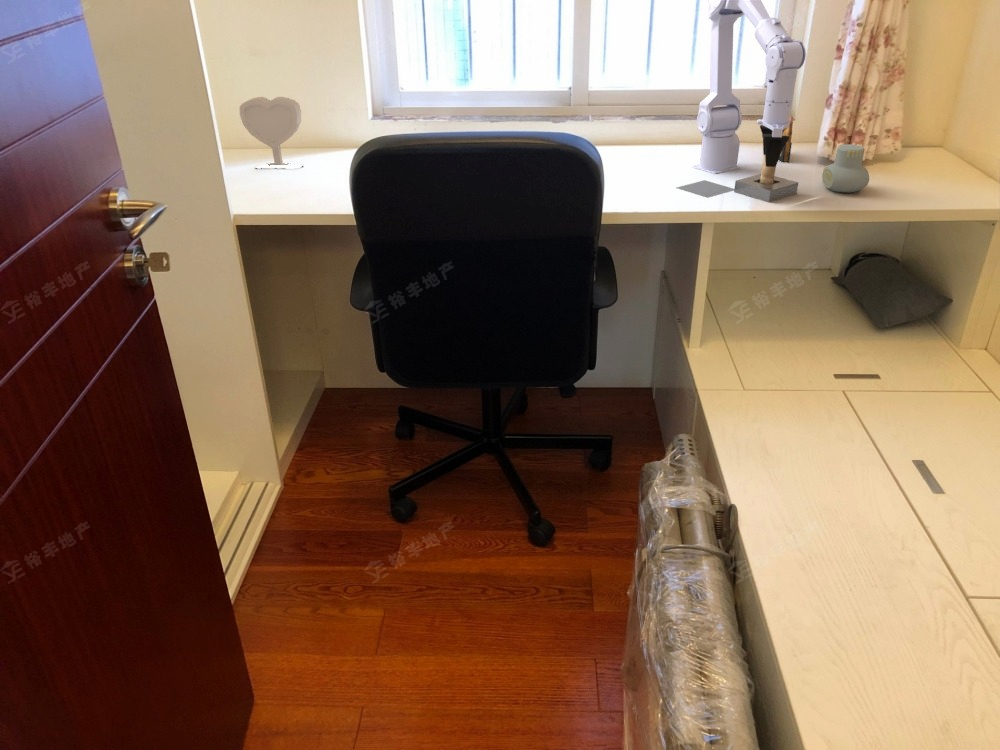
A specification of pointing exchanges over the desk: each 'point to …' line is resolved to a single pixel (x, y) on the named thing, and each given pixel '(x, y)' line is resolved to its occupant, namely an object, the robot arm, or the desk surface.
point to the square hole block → (766, 188)
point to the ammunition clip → (787, 148)
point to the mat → (705, 188)
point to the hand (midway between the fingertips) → (769, 161)
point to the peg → (767, 174)
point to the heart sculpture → (271, 121)
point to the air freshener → (846, 170)
